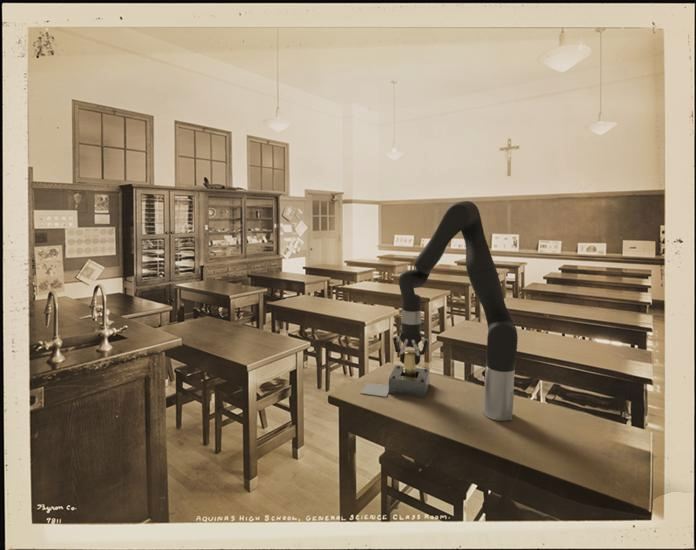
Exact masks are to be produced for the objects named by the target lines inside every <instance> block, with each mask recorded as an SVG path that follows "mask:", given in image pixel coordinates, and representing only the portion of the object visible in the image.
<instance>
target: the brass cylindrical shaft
mask: <svg viewBox="0 0 696 550" xmlns="http://www.w3.org/2000/svg"><path fill="white" fill-rule="evenodd" d="M416 355H417V354H416V351H415V349H414V350H413V349H406V350H404V363H402V366H403V376H406V377H414V378H416V368H417V365H416Z"/></svg>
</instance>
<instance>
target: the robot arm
mask: <svg viewBox="0 0 696 550" xmlns="http://www.w3.org/2000/svg"><path fill="white" fill-rule="evenodd" d="M460 232H461V235H462V238H463V239H464V240H463V241H464V244H465V268H466V273H467V275H468V279H469V282H470V285H471V287H472V290H473V291H474V294H475V295H476V298H477V299H478V300H479V303H480V304H481V307H482V309H483V312H484V316H485V320H486V323H487V341H486V355H485V357H486V358H485V360H486V361H485V375H484V387H483V388H484V391H483V392H484V393H483V406H482V414H483V415H484V416H485V417H486V418H488V419H491V420H493V421H498V422H502V421H503V422H504V421H513V411H514V398H515V397H514V396H515V393H514V387H515V374H516V371H515V370H516V362H517V353H518V351H517V349H518V341H519V340H518V337H519V336H518V330H517V327H516V325H515V323H514V321H513V320H512V317H511V315H510V312H509V310H508V308H507V305H506V303H505V298H504V293H503V289H502V284H501V281H500V277H499V273H498V271H497V270H498V269H497V267H496V264H495V261H494V259H493V256H492V253H491V250H490V247H489V245H488V242H487V239H486V236H485V232H484V227H483V221H482V217H481V213H480V210H479V208H478V207H477V205H476V204H475V203H474V202H472V201H469V200H463V201H458V202H455V203H452V204H451V205H449V206H448V208H447V209H446V211H445V213H444V215H443V216H442V218H441V220H440V222H439V224H438V226H437V228H436V229H435V231H434V233H433V235H432V237H430V240H429V241H428V242H427V244H426V245H425V246H424V247H423V249H422V250H421V252H420V253H419V254H418V256H417V257H416V258H415V260H414V263H413V264H414V269H409V270H404V271H402V272H401V273H400V275H399V277H398V286H399V289H400V295H401V298H402V302H401V303H402V307H401V308H402V310H401V317H400V323H401V325H400V334H399V335H394V336H393V338H392V340H393V341H392V342H393V347H394V351H395V352H396V353H398V354H399V361H400V362H401V364H404V351H405V349H406V348H413V349H414V351H416V354H417V355H416V366H417V365H419V364H420V362H421V356H424V355H425V353H426V349H427V348H428V347H427V346H428V343H429V338H423V337H422V335H421V334H422V333H421V331H422V330H421V329H422V328H421V327H422V313H421V312H422V311H421V309H422V308H421V307H422V305H421V304H422V298H421V296H420V295H419V294H418V293H417V294H416V293H415V289H416V288H417V289H418V288H421V287H423V286H424V285H425V284H426V283H427V281H428V279H429V277H430V274H431V272H432V270H433V269H434V268H435V266H436V265H437V264H438V263H439V261H440V260H441V259H442V257H443V255H444V253H445V251H446V248H447V247H448V244H450V242H451V240H452V239H454V237H455V236H456V235H458V234H459V233H460ZM400 341H401V343H402V346H401V348H400V345H399V342H400ZM419 343H421V344H422V345H423V346H422V349H421V350H420V346H419Z"/></svg>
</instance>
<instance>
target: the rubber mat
mask: <svg viewBox="0 0 696 550" xmlns="http://www.w3.org/2000/svg"><path fill="white" fill-rule="evenodd" d="M388 394H390V393H389V384H387V385H386V384H380V383H379V384H378V383H371V382H366V384H365V385H364V387H363V388H362V390H361V392H360V395H367V396H372V397H373V396H374V397H382V398H387V397H388Z"/></svg>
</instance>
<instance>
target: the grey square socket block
mask: <svg viewBox="0 0 696 550" xmlns="http://www.w3.org/2000/svg"><path fill="white" fill-rule="evenodd" d="M430 371H431V370H430V369H428V368H419V367H416V378H414V377H406V376H403V365H395V366H394V367H393V370H392V372H391V373H390V375H389V377H388V386H389V393H388V394H394V395H401V396H407V397H414V398H421V399H422V398H423V399H426V396H427V394H428V389H429V385H430Z"/></svg>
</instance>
